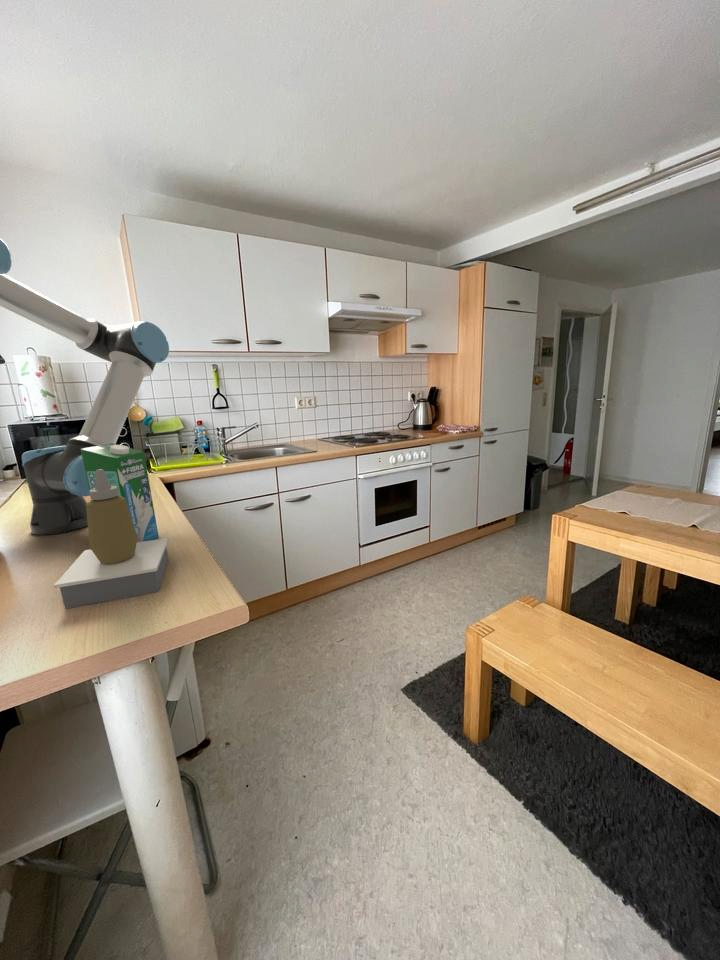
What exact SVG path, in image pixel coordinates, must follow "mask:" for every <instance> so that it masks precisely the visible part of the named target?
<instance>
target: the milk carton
mask: <svg viewBox="0 0 720 960" xmlns="http://www.w3.org/2000/svg"><path fill="white" fill-rule="evenodd" d="M81 454H82V458H83V463H84V468H85V472H86V477H87V482H88V486H89V490H91V489H94V488H95V481H96V470H99V469H103V470H104V472H105V474H106V476H107V478H108V480H109V482H110V485H111V486H117V487H118V492H119V495H118V496H122V497H124V498H125V499H126V502H127V505H128V508H129V512H130V515H131V518H132V521H133V524H134V527H135V531H136V534H137V537H138V538H137V542H144V541H151V540H157V538H159V537H160V536H159V530H158V529H159V528H158V526H157V525H158V524H157V520H156V519H157V518H156V513H155V508H154V503H153V502H154V500H153V496H152V490H151V484H150V479H149V473H148V467H147V462H146V455H145V451H142V450H138V449H135V448H132V447H129V446H127V445H123V444H117V443H116V444H113V443H110V444H105V445H100V446H94V447H89V448H83V449H81ZM91 500H92V499H91V498H90V501H91Z"/></svg>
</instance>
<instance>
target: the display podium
mask: <svg viewBox="0 0 720 960" xmlns="http://www.w3.org/2000/svg"><path fill="white" fill-rule="evenodd" d="M168 542H169V538H168V537H166V538H160V539H159V538H158V539H154V540H151V541H144V542H137V544H136V549H135V555H134V556H133V557H131V558H130V559H128V560H125V561H122V562H119V563H114V564H102V563H100V561H99V560H98V559H97V557H96V556H95V554H94V553H93V551H92V550H91V549H85V550H83V551H82V553H81V554H79V556H78V557H77V558H76V559H75V560H74V562H73V563H72V564H71V565H70V567H69V568H67V570H66V571H65V572H64V573H63V574H62V575H61V577H60V578H59V579H57V581H56V582H55V583H54V589H58V588H59V591H60V595H61V598H62V603H63V606H64V609H73V608H77V607H83V606H87V605H93V604H99V603H104V602H110V601H114V600H120V599H121V600H122V599H125V598H131V597H132V598H133V597H135V596H141V595H146V594H147V595H148V594H152V593H158V592H159V591H160V588H161V584H162V582H163V578H164V576H165V573H166V570H167V566H168V564H169V560H170V559H169V554H168V549H167V548H168V547H167V545H168Z"/></svg>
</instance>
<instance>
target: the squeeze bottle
mask: <svg viewBox="0 0 720 960" xmlns="http://www.w3.org/2000/svg"><path fill="white" fill-rule="evenodd" d="M89 494H90V496H89V498H90V500H89V501H88V502H87V504H86V511H87V521H88V525H87V531H88V540H89V542H88V543H89V548H90V549H91V550H92V551H93V553H94V554H95V556H96V557H97V559H98V560H99V561H100V563H102V564H114V563H119V562H122V561H125V560H128V559H130V558H131V557H133V556H134V555H135V549H136V544H137V538H138V537H137V534H136V531H135V527H134V524H133V521H132V518H131V515H130V512H129V508H128V505H127V502H126V499H125V498H124V497H122V496H118V495H119V492H118V487H117V486H111V485H110V482H109V480H108V478H107V476H106V474H105V472H104V470H103V469H99V470H96V481H95V488H94V489H91V490H89ZM91 499H92V500H91ZM90 549H89V550H90Z"/></svg>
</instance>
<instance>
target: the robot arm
mask: <svg viewBox="0 0 720 960" xmlns="http://www.w3.org/2000/svg"><path fill="white" fill-rule="evenodd" d="M12 261H13V260H12V255H11V251H10V249H9V247H8V245H7V243H6V242H5V241H4V240H3V239H2V238H0V307H2V308H4V309H7V310H9V311H10V312H13V313H14V314H16V315H18V316H20V317H23V318H25V319H27V320H29V321H31V322H32V323H35V324H36V325H39V326H40V327H43V328H44V329H47V330H50V331H51V332H54V333H56V334H57V335H60V336H61V337H64V338H65V339H67V340H70V341H72V342H74V343H75V345H76V347H77V348H79V349H80V350H83V351H85V352H86V353H88V354H92V355H93V356H95V357H97V358H100V359H102V360H104V361H107V362H110V363H111V364H110V367H109V369H108V371H107V373H106V375H105V378H104V380H103V382H102V384H101V386H100V388H99V391H98V393H97V395H96V398H95V399H94V402H93V403H92V405H91V408H90V410H89V412H88V415H87V417H86V418H85V422H84V424H83V426H82V428H81V429H80V432H79V434H78V435H77V436H74V437H71V438H69V440H68V441H67V443H66V445H60V446H52V447H51V446H50V447H46V448H40V449H34V450H28V451H25V452H23V453H22V455H21V462H22V463H21V466H22V467H23V470H24V471H23V472H24V474H25V478H26V482H27V486H28V489H29V494H30V497H31V501H32V510H31V515H30V516H31V518H30V523H29V526H30V530H31V533H32V534H33V535H37V536H43V535H44V536H45V535H55V534H61V533H62V532H63V533H66V531H68V532H72V531H75V530H74V529H76V530H78V528H79V529H82V528H85V527H88V521H87V511H86V504H87V503H88V502H87V500H86V497H90V494H89V486H88V482H87V477H86V472H85V468H84V463H83V458H82V454H81V449H83V448H89V447H94V446H100V445H105V444H110V443H113V444H117V441H118V439H119V437H120V434H121V432H122V430H123V427H124V425H125V424H126V423H125V422H126V420H127V418H128V416H129V413H130V411H131V408H132V406H133V404H134V401H135V400H136V397H137V395H138V392H139V390H140V387H141V385H142V383H143V380H144V378H145V377H146V378H147V377H149V376H151V375H152V374H153V372H154V370H155V366H156V364H159V363H160V364H161V363H162V362H164V361H165V360H166V359H167V358H168V356H169V352H170V346H169V341H168V340H167V337H166V335H165V333H164V332H163V331H162V329H161V328H160V327H159V326H157V325H156V324H154V323H152V322H149V321H140V320H139V321H134V322H131V323H130V322H129V323H125V324H118V325H110V324H105V323H102V322H100V321H98V320H96V319H94V318H88V319H87V318H85V317H83V316H82V315H80V314H78V313H76V312H74V311H72V310H70V309H69V308H67V307H65V306H63V305H61V304H59V303H58V302H56V301H54V300H52V299H50V298H48V297H47V296H44V295H43V294H41V293H39V292H38V291H35V290H34V289H32V288H31V287H29V286H27V285H25V284H23V283H21V282H19V281H17V280H15V279H14V278H12V277H11V276H9V275H6V274H8V273H9V272H10V270H11V267H12ZM2 356H3V355H1V354H0V365H5V363H6V359H5V358H4V357H2ZM71 530H72V531H71Z"/></svg>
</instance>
